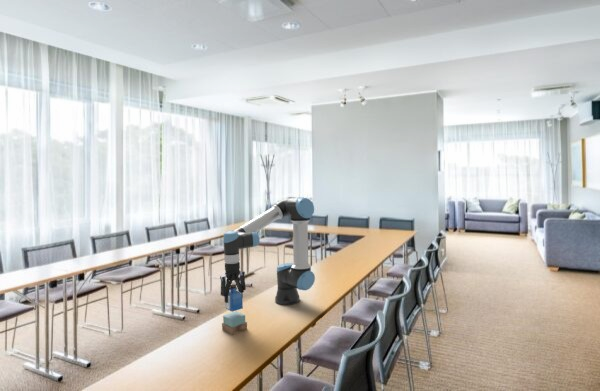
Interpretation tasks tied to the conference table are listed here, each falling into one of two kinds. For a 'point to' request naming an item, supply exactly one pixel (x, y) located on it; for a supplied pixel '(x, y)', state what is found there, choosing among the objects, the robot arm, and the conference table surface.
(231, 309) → the perfume bottle
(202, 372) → the conference table surface
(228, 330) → the walnut slab
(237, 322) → the teal slab
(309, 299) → the conference table surface
